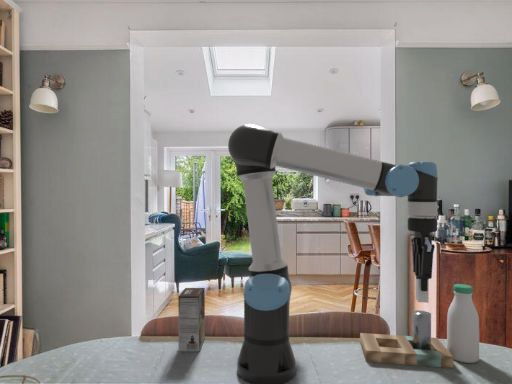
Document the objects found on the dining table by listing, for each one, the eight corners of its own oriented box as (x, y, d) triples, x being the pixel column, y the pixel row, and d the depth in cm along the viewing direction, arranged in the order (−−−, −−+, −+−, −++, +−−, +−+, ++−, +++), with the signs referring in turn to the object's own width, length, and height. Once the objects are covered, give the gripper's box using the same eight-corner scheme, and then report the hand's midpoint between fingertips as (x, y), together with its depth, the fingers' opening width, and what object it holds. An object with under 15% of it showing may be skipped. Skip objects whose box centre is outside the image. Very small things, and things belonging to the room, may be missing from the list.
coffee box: (184, 338, 110) (184, 287, 110) (205, 338, 110) (205, 287, 110) (177, 351, 101) (178, 295, 101) (200, 351, 101) (200, 295, 101)
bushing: (415, 359, 96) (415, 315, 96) (410, 351, 101) (411, 310, 101) (433, 360, 96) (433, 316, 96) (427, 352, 100) (428, 310, 100)
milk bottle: (484, 365, 93) (484, 290, 93) (452, 362, 95) (452, 288, 95) (472, 352, 101) (472, 282, 101) (443, 350, 102) (443, 281, 102)
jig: (365, 361, 95) (365, 350, 95) (360, 342, 107) (360, 332, 107) (453, 368, 91) (453, 356, 91) (437, 348, 103) (437, 337, 103)
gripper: (445, 219, 91) (445, 310, 91) (428, 215, 105) (428, 294, 105) (415, 218, 92) (414, 308, 92) (401, 215, 106) (401, 293, 106)
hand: (422, 300), depth 98 cm, fingers closed
